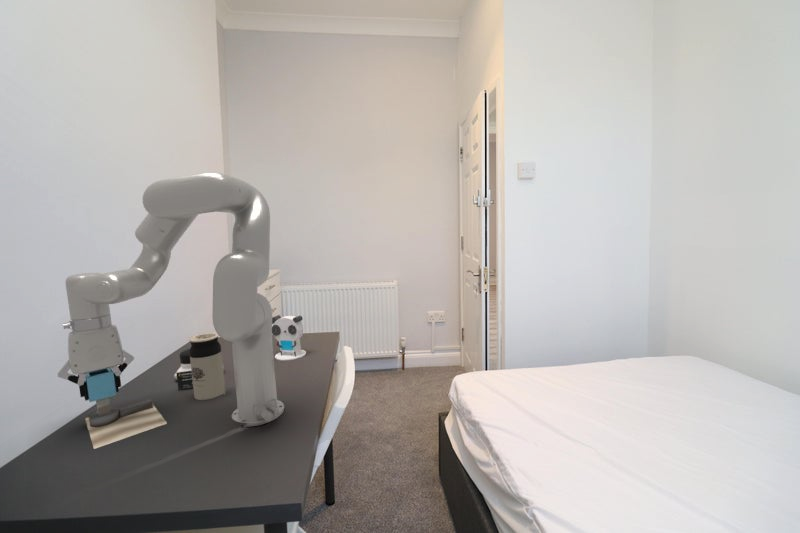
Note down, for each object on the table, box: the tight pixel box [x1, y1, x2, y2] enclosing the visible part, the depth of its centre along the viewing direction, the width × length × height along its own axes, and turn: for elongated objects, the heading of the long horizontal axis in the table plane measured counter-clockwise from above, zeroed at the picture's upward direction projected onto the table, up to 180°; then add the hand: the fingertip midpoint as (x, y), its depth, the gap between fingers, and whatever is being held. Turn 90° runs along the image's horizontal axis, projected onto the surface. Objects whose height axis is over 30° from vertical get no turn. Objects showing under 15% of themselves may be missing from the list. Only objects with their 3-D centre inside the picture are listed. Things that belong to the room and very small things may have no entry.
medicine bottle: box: [175, 348, 194, 392], centre depth 114 cm, size 7×7×12 cm
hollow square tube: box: [85, 368, 117, 403], centre depth 93 cm, size 5×5×6 cm
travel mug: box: [188, 332, 226, 401], centre depth 106 cm, size 8×8×18 cm
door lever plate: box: [84, 397, 168, 450], centre depth 93 cm, size 20×14×8 cm
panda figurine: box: [272, 314, 307, 361], centre depth 140 cm, size 12×11×15 cm
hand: (101, 393), depth 93 cm, fingers closed on hollow square tube, 5 cm apart
